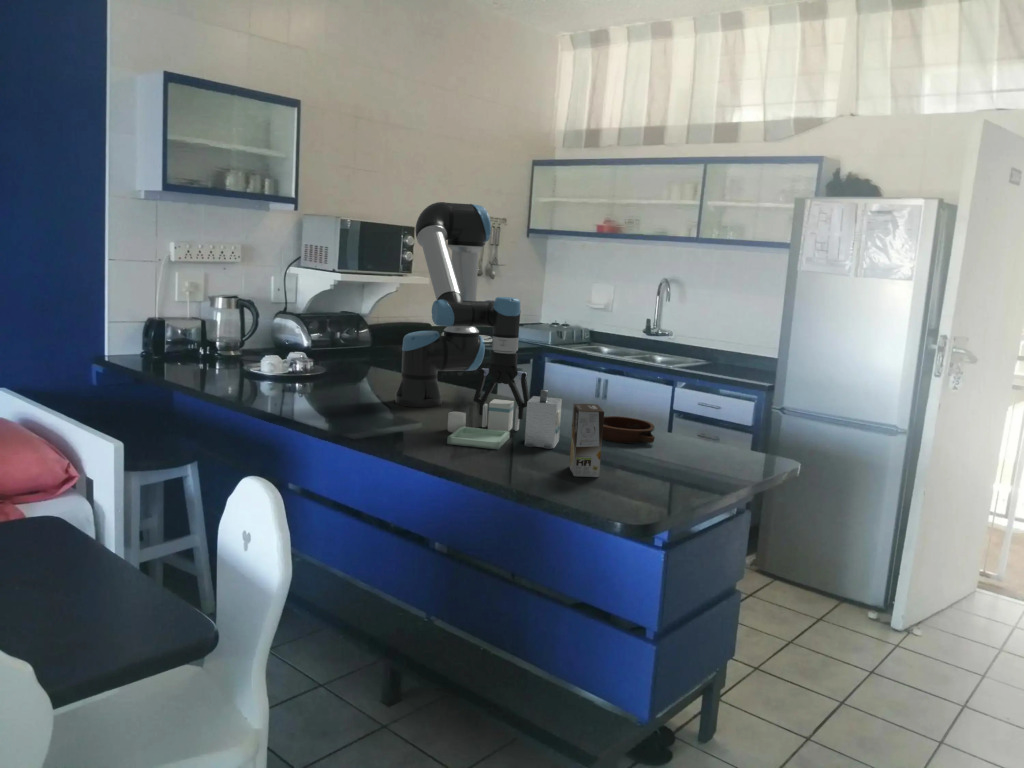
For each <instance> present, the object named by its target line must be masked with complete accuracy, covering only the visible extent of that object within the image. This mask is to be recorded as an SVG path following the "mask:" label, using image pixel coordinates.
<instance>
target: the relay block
mask: <svg viewBox="0 0 1024 768" xmlns="http://www.w3.org/2000/svg"><path fill="white" fill-rule="evenodd" d="M514 409H515V400H507V399H506V400H505V399H498V398H497V399H496V398H494V399H492V400H491V401H490V402H489V403H488V416H487V429H491V430H500V431H509V432H511V429H513V424H514V422H513V421H514Z"/></svg>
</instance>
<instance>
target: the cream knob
mask: <svg viewBox="0 0 1024 768" xmlns="http://www.w3.org/2000/svg"><path fill="white" fill-rule="evenodd" d="M447 414H448V416H447V431H448V432H449V433H454V432H455V431H456V430H458V429H459V428H460V427H466V423H467V422H466V421H467V419H466V418H467V413H466V412H463V411H450V412H448V413H447Z"/></svg>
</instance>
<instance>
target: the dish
mask: <svg viewBox="0 0 1024 768" xmlns="http://www.w3.org/2000/svg"><path fill="white" fill-rule="evenodd" d="M654 430H655V425H654V424H653V422H650V421H647V420H643V419H639V418H634V417H629V416H628V417H627V416H620V415H619V416H618V415H617V416H615V415H614V416H613V415H612V416H609V415H608V416H606V415H604V421H603V434H602V440H604V441H608V442H612V443H619V444H621V443H622V444H638V443H648V444H653V443H654V442H655V438H656V437H655V435H653V434H652V431H654Z"/></svg>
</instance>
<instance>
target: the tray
mask: <svg viewBox="0 0 1024 768" xmlns="http://www.w3.org/2000/svg"><path fill="white" fill-rule="evenodd" d="M510 436H511V431H500V430H491V429H488V428H482V427H471V426H465V427H460V428H459V429H458V430H456V431H455V432H451V434H450V435H448V436H447V438H446V439H447V442H446V444H447V445H454V446H455V445H456V446H463V447H471V448H481V449H491V450H500V449H501V448H502V447H503V446H504V445H505V444H506V443H507V441H508V440H509V439H510V438H511V437H510Z"/></svg>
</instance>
